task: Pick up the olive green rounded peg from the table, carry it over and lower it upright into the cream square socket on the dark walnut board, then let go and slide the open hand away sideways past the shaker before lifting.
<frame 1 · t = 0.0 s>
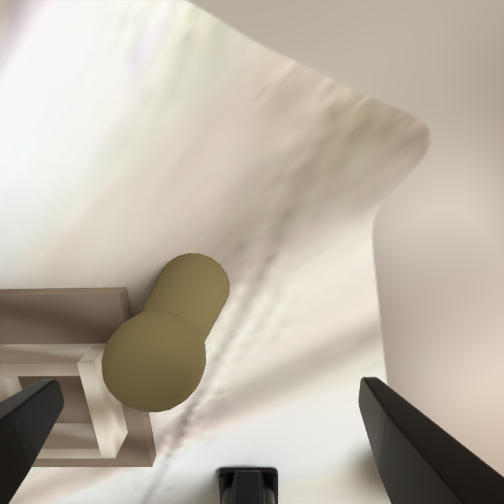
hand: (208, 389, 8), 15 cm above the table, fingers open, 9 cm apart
socket board: (72, 381, 26), on the table
olive green rounded peg: (195, 285, 23), on the table
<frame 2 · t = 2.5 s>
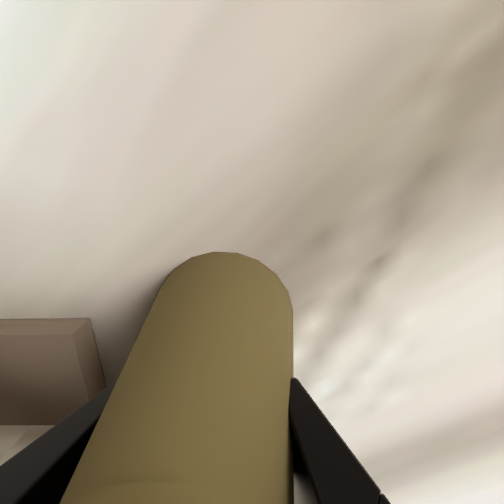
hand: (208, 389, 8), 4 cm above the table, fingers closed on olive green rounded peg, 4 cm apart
socket board: (3, 476, 15), on the table
olive green rounded peg: (224, 314, 12), on the table, touching gripper
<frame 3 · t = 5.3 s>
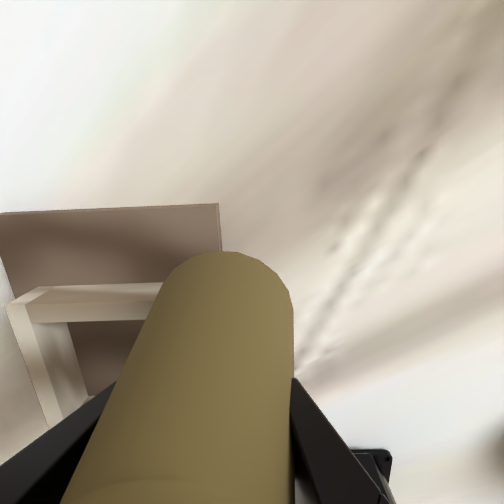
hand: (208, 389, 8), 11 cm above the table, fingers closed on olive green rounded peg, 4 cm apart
socket board: (137, 340, 20), on the table
olive green rounded peg: (225, 313, 12), point 7 cm above the table, touching gripper
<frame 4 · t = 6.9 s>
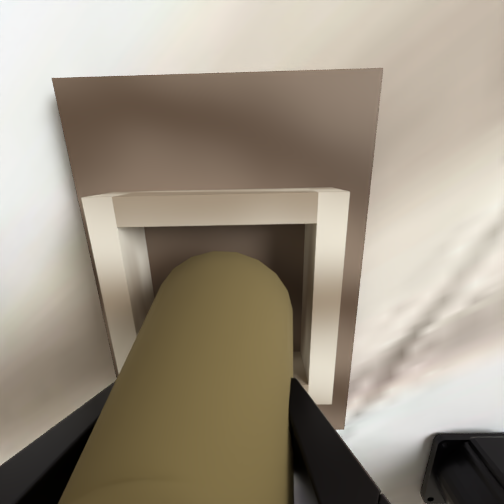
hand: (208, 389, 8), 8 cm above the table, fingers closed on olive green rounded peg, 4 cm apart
socket board: (229, 280, 15), on the table
olive green rounded peg: (224, 313, 12), point 4 cm above the table, touching gripper
when the fingers open (7 cm above the table, at t = 8.2 s): olive green rounded peg drops 1 cm, resting on socket board.
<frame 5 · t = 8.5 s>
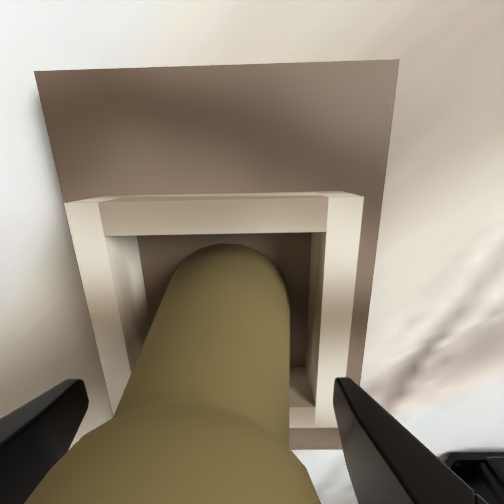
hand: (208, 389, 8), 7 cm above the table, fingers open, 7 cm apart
socket board: (229, 290, 14), on the table
olive green rounded peg: (229, 300, 13), point 1 cm above the table, touching socket board
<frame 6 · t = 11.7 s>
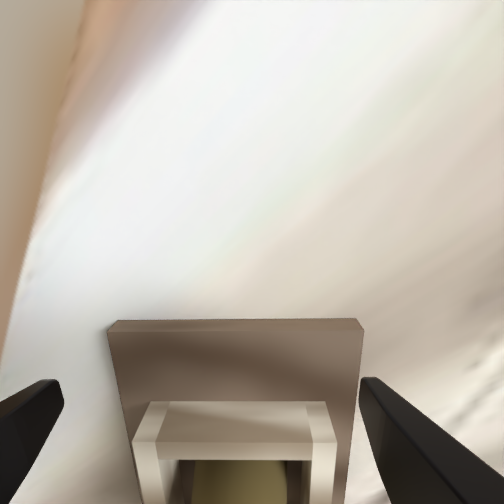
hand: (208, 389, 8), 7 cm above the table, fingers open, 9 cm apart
socket board: (241, 446, 18), on the table
olive green rounded peg: (241, 462, 17), point 1 cm above the table, touching socket board
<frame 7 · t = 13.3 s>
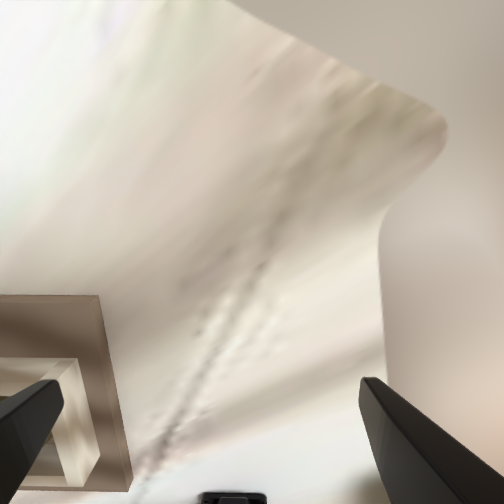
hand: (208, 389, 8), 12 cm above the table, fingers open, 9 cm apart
socket board: (39, 397, 23), on the table
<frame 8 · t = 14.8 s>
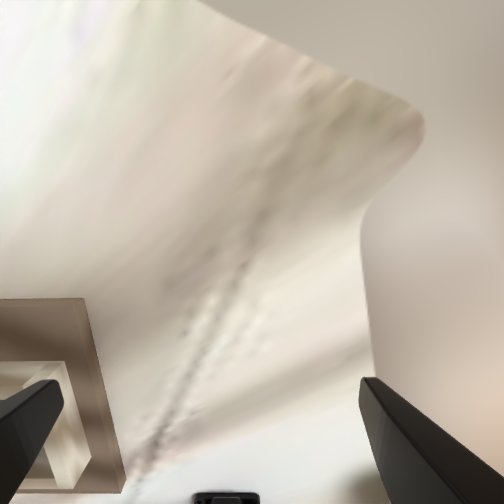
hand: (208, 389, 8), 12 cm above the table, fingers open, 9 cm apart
socket board: (29, 400, 24), on the table
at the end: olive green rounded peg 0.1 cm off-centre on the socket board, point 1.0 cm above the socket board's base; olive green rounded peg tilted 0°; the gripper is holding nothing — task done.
